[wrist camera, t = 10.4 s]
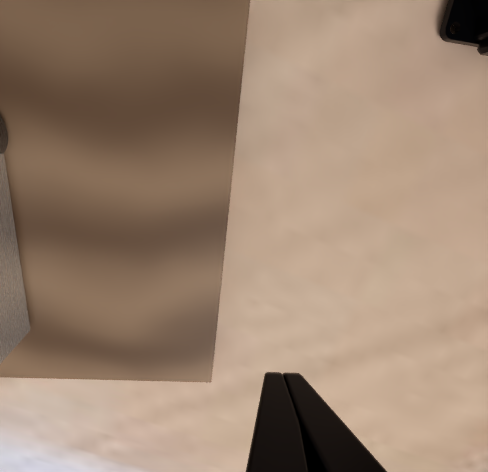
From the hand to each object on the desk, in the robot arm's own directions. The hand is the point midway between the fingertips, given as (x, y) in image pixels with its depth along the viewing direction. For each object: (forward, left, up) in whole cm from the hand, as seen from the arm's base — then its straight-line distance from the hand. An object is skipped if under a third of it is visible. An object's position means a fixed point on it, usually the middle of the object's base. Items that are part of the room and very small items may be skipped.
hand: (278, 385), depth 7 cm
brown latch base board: (0, -10, -12) cm, 16 cm away
